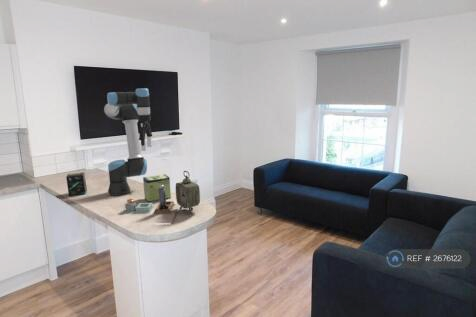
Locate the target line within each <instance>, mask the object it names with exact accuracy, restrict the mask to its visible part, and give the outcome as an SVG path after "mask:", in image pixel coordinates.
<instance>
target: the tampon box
mask: <svg viewBox="0 0 476 317" xmlns="http://www.w3.org/2000/svg"><path fill="white" fill-rule="evenodd" d="M65 178H66V185H67V192H68V196H69V197H73V196H74V197H75V196H81V195H86V194H87V192H88V190H87V182H86V174H85V171H84V172H76V173H75V172H73V173H68V174H67V175H66V176H65Z"/></svg>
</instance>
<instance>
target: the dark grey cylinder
mask: <svg viewBox="0 0 476 317" xmlns="http://www.w3.org/2000/svg"><path fill="white" fill-rule="evenodd" d="M158 193H159V200H158V204H159V206H160V210H167V207H166V201H167V199H166V193H165V188H164V185H159V189H158Z"/></svg>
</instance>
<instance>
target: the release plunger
mask: <svg viewBox="0 0 476 317" xmlns="http://www.w3.org/2000/svg"><path fill="white" fill-rule="evenodd" d="M133 202H135V200H134V198H129V199H127V200H126V204H127V203H128V205H133Z"/></svg>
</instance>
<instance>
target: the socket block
mask: <svg viewBox="0 0 476 317" xmlns="http://www.w3.org/2000/svg"><path fill="white" fill-rule="evenodd" d="M154 208H155V205H153V202H139V203H138V204H137V202H135V201H134V202H133V205H128V203H127V202H126V204H125V212H124V215H136V214H137V215H139V214H142V215H143V214H147V215H148V214H151V213H152V210H153V209H154Z"/></svg>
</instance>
